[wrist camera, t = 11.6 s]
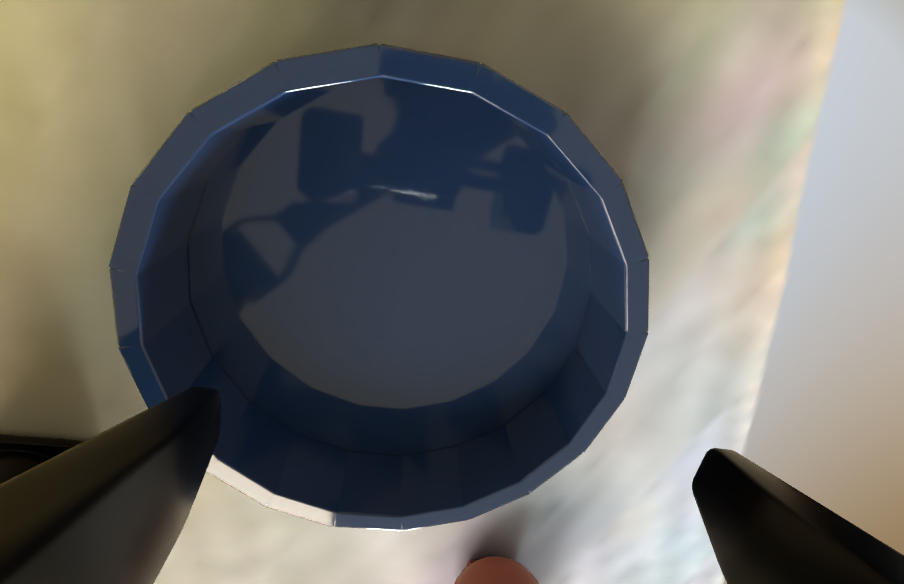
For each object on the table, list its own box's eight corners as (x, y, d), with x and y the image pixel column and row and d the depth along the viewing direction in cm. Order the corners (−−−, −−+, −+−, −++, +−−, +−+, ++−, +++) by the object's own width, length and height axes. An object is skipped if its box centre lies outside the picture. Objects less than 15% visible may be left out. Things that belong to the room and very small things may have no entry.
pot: (183, 443, 22) (135, 515, 18) (158, 10, 15) (76, -14, 12) (549, 472, 24) (574, 542, 20) (663, 104, 17) (729, 108, 14)
